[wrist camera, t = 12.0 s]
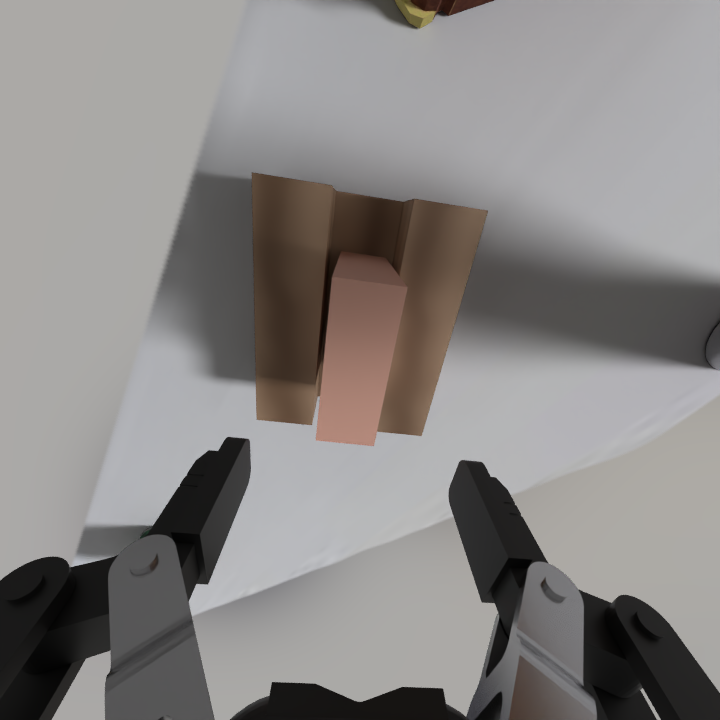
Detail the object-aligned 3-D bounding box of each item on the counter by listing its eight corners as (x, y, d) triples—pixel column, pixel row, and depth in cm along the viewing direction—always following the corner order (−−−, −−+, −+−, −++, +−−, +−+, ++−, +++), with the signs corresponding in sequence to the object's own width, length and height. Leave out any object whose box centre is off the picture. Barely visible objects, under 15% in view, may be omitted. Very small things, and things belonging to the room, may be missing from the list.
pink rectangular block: (385, 257, 26) (407, 287, 15) (366, 365, 31) (373, 445, 20) (341, 251, 26) (332, 276, 15) (329, 361, 31) (315, 440, 20)
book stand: (458, 211, 26) (488, 210, 20) (410, 398, 35) (421, 435, 29) (275, 182, 25) (251, 172, 19) (273, 384, 34) (256, 419, 28)
